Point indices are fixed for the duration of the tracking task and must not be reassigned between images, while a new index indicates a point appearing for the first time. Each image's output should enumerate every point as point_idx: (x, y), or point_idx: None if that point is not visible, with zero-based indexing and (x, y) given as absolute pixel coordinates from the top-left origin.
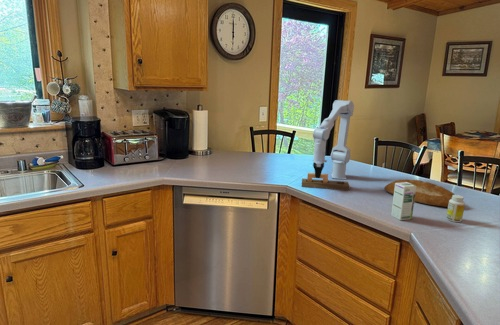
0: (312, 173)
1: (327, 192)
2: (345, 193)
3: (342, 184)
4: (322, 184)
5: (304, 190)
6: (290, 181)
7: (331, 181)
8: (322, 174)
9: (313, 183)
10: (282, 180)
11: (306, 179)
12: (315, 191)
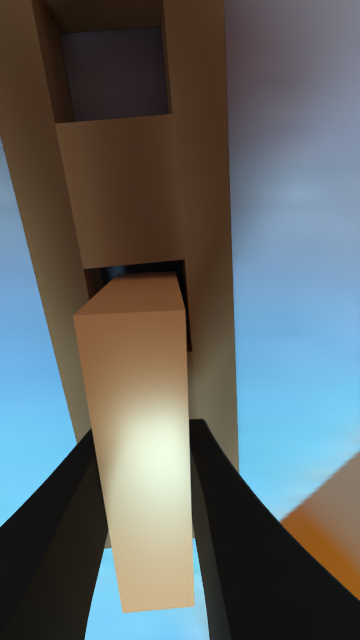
0: (143, 561)
1: (348, 260)
2: (355, 18)
3: (183, 9)
4: (231, 336)
5: (322, 457)
6: (108, 573)
7: (75, 220)
8: (159, 420)
9: (236, 432)
10: (107, 617)
11: None
12: (334, 374)
